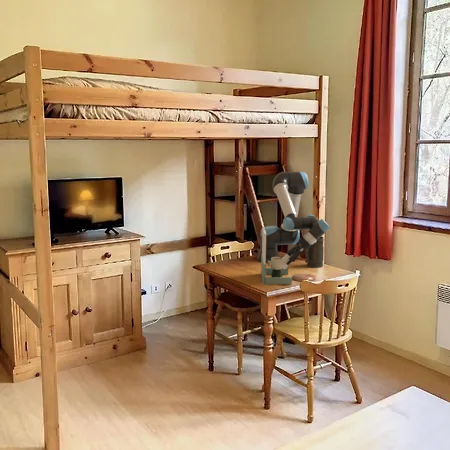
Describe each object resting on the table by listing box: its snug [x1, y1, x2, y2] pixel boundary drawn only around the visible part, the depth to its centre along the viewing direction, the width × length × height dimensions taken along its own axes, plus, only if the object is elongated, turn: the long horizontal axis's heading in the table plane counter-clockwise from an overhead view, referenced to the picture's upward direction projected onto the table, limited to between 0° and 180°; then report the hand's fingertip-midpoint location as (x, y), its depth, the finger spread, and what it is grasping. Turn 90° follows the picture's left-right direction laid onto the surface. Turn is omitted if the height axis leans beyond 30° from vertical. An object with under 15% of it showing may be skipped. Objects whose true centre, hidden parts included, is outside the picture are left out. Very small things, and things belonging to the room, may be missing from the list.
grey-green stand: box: [260, 226, 293, 286], centre depth 316 cm, size 17×24×30 cm
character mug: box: [267, 256, 287, 277], centre depth 317 cm, size 11×7×13 cm, turn 86°
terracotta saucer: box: [292, 273, 317, 282], centre depth 320 cm, size 14×14×1 cm
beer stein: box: [303, 236, 325, 269], centre depth 349 cm, size 15×11×20 cm
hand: (281, 265), depth 316 cm, fingers open, 13 cm apart
